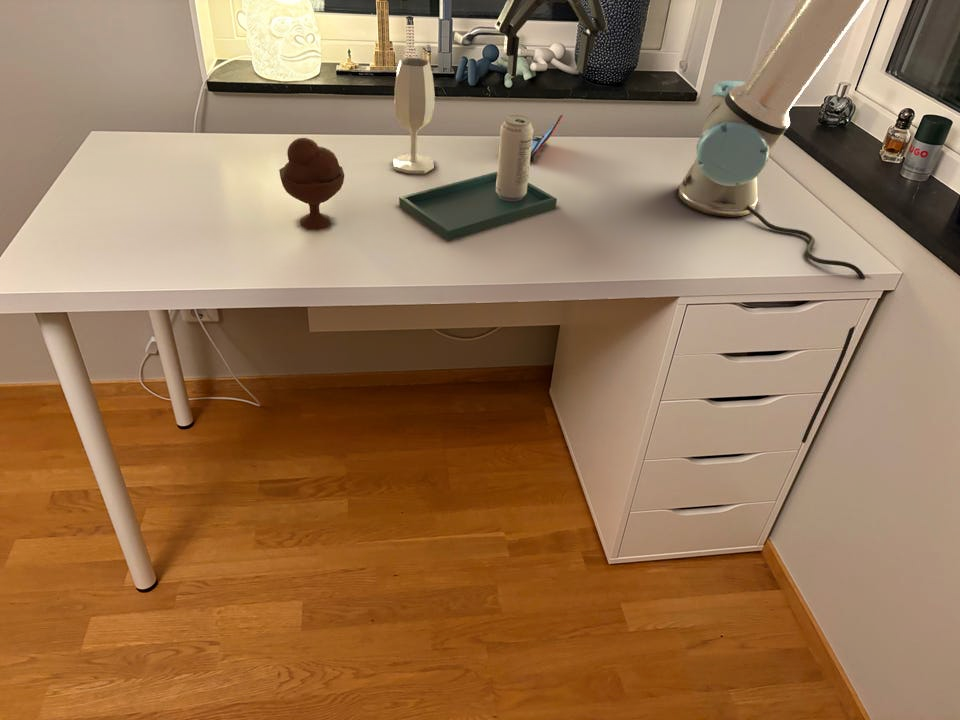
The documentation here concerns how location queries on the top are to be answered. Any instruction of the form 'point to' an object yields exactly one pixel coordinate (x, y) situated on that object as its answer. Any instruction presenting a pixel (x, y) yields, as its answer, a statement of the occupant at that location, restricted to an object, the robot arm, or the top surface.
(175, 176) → the top surface
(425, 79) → the wineglass
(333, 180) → the ice cream bowl
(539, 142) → the handheld console
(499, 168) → the energy drink can
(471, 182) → the tray
